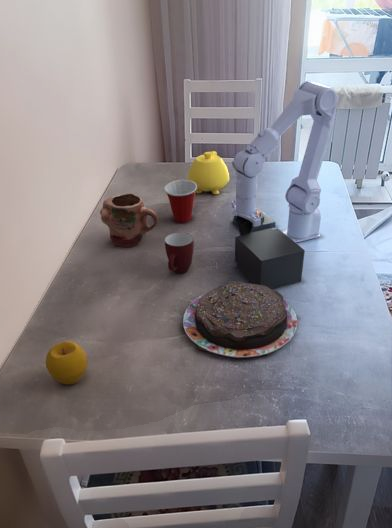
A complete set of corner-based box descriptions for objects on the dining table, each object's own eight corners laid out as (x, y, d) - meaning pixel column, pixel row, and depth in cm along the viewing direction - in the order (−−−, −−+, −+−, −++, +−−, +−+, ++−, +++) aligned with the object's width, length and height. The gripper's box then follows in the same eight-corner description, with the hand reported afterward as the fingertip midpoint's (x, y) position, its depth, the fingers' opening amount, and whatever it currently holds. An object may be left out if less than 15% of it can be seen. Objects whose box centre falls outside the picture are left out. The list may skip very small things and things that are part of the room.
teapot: (195, 175, 196) (194, 141, 187) (233, 177, 193) (234, 143, 184) (184, 195, 180) (182, 159, 172) (225, 198, 177) (225, 161, 169)
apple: (55, 365, 108) (46, 335, 103) (93, 363, 108) (86, 333, 103) (47, 393, 101) (38, 362, 96) (88, 391, 102) (80, 360, 96)
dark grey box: (228, 254, 143) (228, 230, 138) (262, 245, 146) (264, 222, 142) (255, 282, 131) (256, 257, 126) (292, 272, 134) (294, 247, 129)
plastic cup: (161, 224, 162) (158, 190, 155) (174, 210, 170) (172, 178, 163) (191, 229, 159) (189, 194, 152) (203, 215, 167) (202, 181, 159)
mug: (187, 284, 133) (186, 252, 127) (160, 280, 135) (157, 249, 129) (198, 264, 141) (197, 233, 135) (172, 261, 143) (169, 231, 137)
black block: (236, 268, 139) (237, 237, 133) (275, 258, 142) (277, 228, 136) (259, 292, 128) (261, 261, 122) (301, 281, 132) (304, 250, 126)
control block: (261, 215, 165) (262, 206, 163) (275, 226, 158) (275, 216, 156) (233, 222, 162) (233, 212, 159) (245, 233, 155) (245, 223, 153)
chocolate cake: (164, 346, 112) (162, 324, 108) (204, 283, 133) (204, 262, 129) (283, 372, 104) (286, 349, 100) (306, 301, 125) (309, 279, 121)
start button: (256, 212, 160) (256, 207, 159) (261, 217, 157) (262, 212, 156) (246, 214, 159) (247, 210, 158) (251, 219, 156) (252, 214, 155)
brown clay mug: (168, 235, 156) (165, 195, 147) (154, 254, 146) (150, 211, 138) (111, 229, 161) (105, 189, 152) (95, 246, 151) (87, 205, 143)
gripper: (222, 188, 139) (222, 231, 148) (245, 207, 129) (243, 252, 137) (244, 184, 141) (242, 226, 150) (268, 202, 131) (265, 247, 139)
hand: (244, 238), depth 143 cm, fingers closed
